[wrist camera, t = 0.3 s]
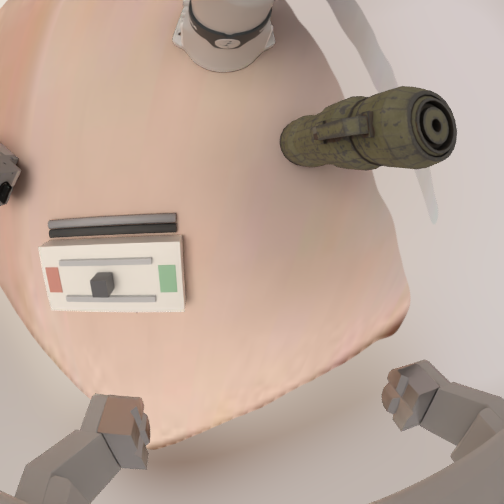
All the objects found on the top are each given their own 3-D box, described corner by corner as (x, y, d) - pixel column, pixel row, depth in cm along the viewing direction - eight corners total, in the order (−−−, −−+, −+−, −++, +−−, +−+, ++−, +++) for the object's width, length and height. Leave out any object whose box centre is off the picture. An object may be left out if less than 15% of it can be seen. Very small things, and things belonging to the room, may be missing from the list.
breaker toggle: (97, 272, 47) (89, 280, 43) (112, 272, 47) (105, 280, 44) (99, 288, 48) (92, 297, 44) (114, 288, 48) (108, 297, 44)
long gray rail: (51, 219, 48) (47, 221, 46) (175, 212, 51) (174, 214, 50) (53, 236, 48) (49, 238, 47) (176, 231, 52) (175, 233, 51)
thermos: (335, 160, 53) (482, 172, 20) (277, 171, 52) (391, 189, 19) (326, 116, 50) (468, 79, 17) (267, 124, 49) (368, 69, 16)
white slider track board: (49, 240, 49) (35, 248, 43) (182, 234, 53) (179, 243, 47) (60, 299, 52) (49, 312, 47) (186, 299, 57) (184, 314, 51)
